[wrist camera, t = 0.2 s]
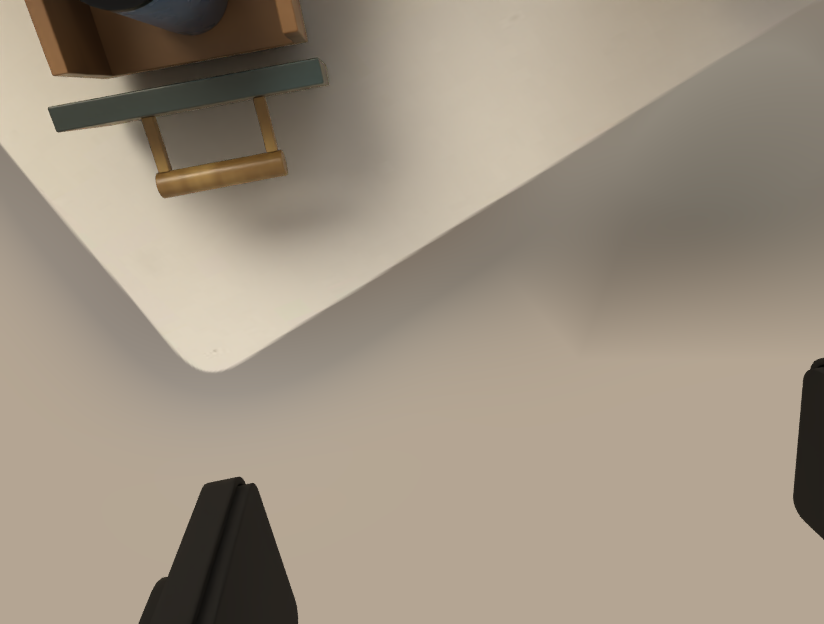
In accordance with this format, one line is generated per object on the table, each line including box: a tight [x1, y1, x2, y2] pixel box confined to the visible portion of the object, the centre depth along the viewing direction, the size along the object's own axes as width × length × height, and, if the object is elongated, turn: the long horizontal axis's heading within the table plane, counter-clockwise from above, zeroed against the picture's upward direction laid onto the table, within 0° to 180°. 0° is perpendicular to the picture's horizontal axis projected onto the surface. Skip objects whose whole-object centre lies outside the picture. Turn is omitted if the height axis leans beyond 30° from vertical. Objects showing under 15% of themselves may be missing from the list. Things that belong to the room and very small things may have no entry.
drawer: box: [25, 0, 329, 198], centre depth 30 cm, size 19×13×7 cm
